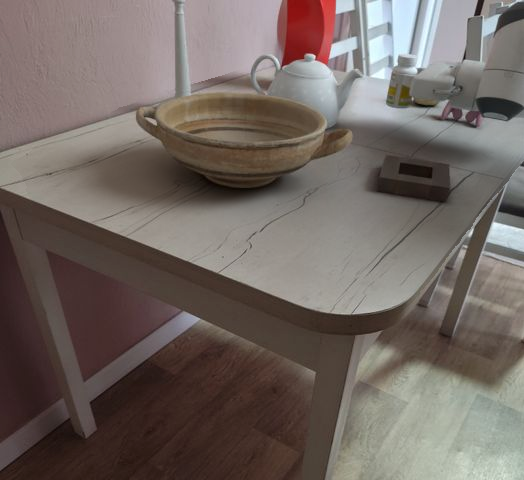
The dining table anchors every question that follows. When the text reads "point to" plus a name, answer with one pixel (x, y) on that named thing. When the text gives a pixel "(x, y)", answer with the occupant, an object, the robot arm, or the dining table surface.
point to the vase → (305, 29)
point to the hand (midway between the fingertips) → (400, 74)
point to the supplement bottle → (399, 92)
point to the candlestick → (180, 55)
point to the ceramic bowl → (241, 136)
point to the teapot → (309, 85)
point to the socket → (415, 178)
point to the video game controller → (458, 114)
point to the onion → (426, 101)
